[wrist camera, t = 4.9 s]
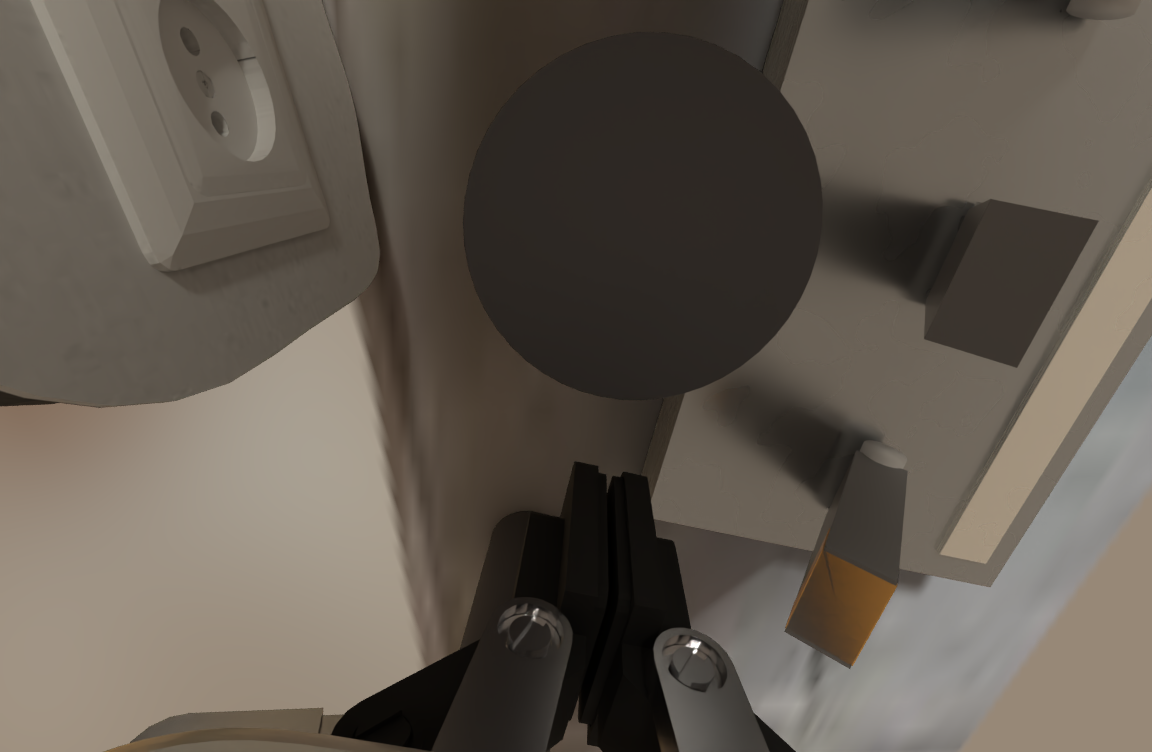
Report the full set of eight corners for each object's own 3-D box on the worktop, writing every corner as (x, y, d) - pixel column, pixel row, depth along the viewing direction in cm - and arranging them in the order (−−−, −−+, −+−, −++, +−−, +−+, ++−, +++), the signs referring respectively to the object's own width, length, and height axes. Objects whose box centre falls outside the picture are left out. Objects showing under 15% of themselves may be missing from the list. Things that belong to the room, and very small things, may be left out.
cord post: (497, 504, 21) (366, 961, 9) (574, 520, 21) (541, 990, 9) (486, 565, 22) (355, 1043, 10) (558, 579, 23) (511, 1067, 11)
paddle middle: (970, 202, 14) (997, 186, 9) (1033, 214, 14) (1106, 207, 8) (922, 304, 15) (918, 349, 10) (979, 321, 15) (1011, 379, 9)
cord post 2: (572, 110, 16) (492, -12, 4) (673, 133, 16) (884, 83, 4) (552, 215, 17) (443, 364, 5) (646, 236, 17) (752, 428, 5)
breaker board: (853, -232, 13) (913, -322, 11) (1321, -108, 14) (1483, -165, 11) (640, 476, 21) (646, 520, 18) (947, 539, 21) (994, 591, 19)
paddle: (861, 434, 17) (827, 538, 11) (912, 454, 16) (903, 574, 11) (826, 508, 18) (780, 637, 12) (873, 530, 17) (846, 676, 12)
